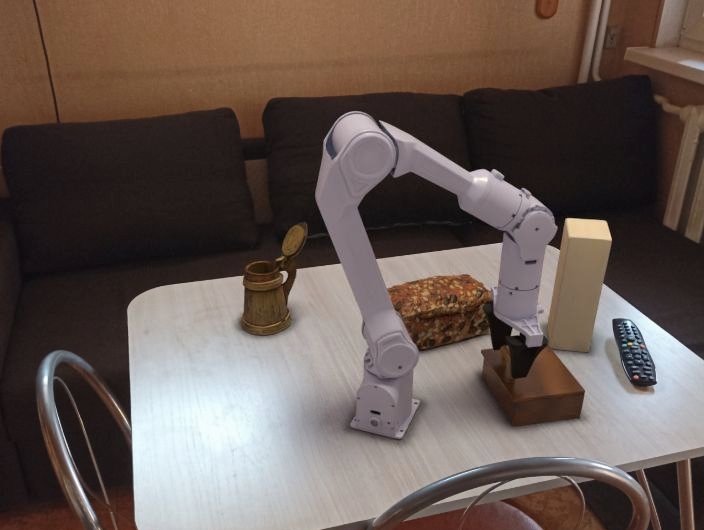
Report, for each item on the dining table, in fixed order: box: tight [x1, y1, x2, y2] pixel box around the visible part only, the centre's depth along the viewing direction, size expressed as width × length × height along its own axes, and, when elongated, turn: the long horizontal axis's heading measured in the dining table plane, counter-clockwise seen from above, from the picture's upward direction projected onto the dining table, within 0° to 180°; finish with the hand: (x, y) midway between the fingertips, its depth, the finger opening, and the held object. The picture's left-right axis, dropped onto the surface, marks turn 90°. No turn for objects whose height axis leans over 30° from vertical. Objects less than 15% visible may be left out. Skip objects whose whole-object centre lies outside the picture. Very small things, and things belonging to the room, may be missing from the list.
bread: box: [386, 273, 493, 350], centre depth 122 cm, size 19×11×10 cm, turn 113°
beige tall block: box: [546, 217, 613, 353], centre depth 117 cm, size 8×7×21 cm
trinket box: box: [481, 357, 586, 427], centre depth 107 cm, size 10×13×4 cm
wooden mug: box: [241, 221, 308, 336], centre depth 125 cm, size 9×14×18 cm, turn 118°
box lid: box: [480, 344, 586, 403], centre depth 105 cm, size 11×13×4 cm
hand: (509, 362), depth 104 cm, fingers open, 7 cm apart
